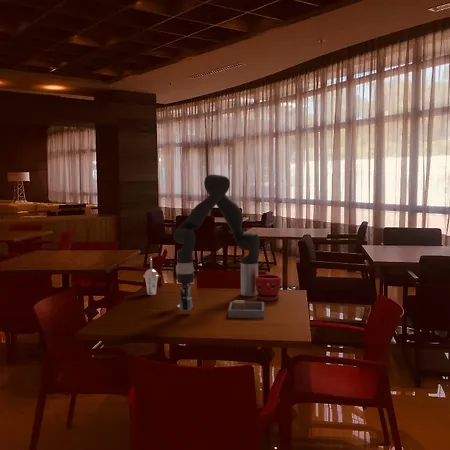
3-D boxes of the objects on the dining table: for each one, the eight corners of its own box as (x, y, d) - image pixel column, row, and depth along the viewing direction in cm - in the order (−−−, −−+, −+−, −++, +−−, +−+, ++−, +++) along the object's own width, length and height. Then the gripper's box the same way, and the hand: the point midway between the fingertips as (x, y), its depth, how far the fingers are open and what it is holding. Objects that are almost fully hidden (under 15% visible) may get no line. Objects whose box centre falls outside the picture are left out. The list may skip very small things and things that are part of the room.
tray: (230, 308, 247) (230, 301, 246) (264, 309, 245) (264, 302, 245) (228, 317, 231) (228, 310, 230) (263, 318, 229) (263, 310, 229)
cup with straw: (141, 295, 276) (140, 258, 274) (148, 291, 285) (147, 256, 283) (155, 296, 274) (154, 259, 272) (162, 292, 282) (161, 256, 280)
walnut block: (234, 310, 241) (234, 300, 241) (244, 310, 241) (244, 300, 240) (233, 313, 236) (233, 302, 236) (244, 313, 236) (244, 302, 235)
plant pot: (281, 301, 259) (281, 278, 258) (255, 301, 260) (255, 278, 259) (279, 295, 272) (279, 273, 271) (255, 295, 273) (254, 273, 272)
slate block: (181, 307, 240) (181, 297, 240) (192, 307, 240) (192, 297, 239) (179, 310, 235) (179, 299, 235) (190, 310, 235) (190, 299, 234)
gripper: (191, 275, 228) (191, 312, 230) (195, 268, 242) (196, 304, 244) (174, 275, 229) (175, 312, 231) (179, 268, 243) (180, 304, 245)
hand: (186, 307), depth 237 cm, fingers closed on slate block, 5 cm apart
